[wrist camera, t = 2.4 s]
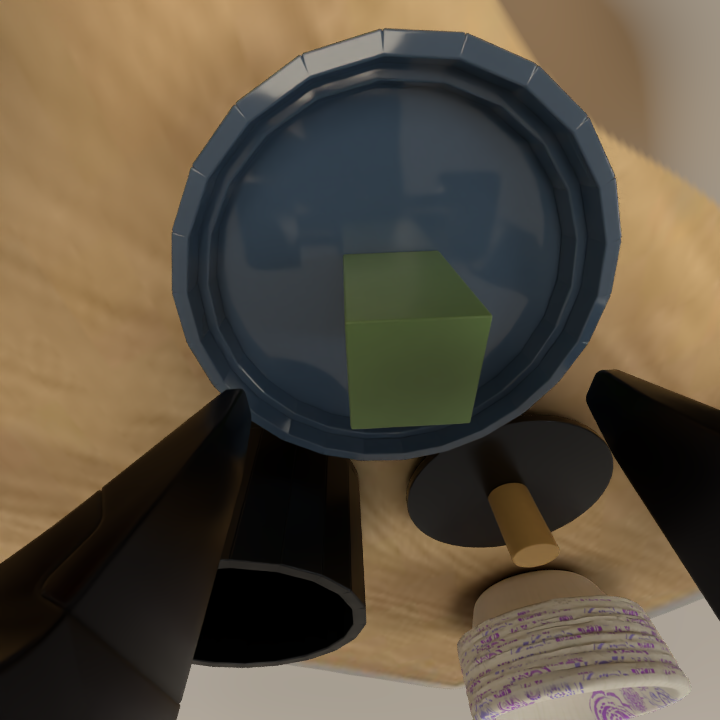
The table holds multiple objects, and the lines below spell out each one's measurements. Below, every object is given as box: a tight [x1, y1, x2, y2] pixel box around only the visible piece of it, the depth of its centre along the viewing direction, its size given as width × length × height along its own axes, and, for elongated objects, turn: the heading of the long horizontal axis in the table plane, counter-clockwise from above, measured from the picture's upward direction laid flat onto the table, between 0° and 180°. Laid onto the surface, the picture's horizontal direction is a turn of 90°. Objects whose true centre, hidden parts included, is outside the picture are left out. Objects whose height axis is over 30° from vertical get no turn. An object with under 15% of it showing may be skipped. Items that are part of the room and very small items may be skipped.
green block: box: [343, 251, 492, 429], centre depth 11 cm, size 4×4×6 cm
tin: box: [192, 421, 366, 668], centre depth 18 cm, size 11×11×7 cm
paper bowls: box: [457, 570, 691, 720], centre depth 28 cm, size 15×15×8 cm
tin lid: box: [406, 415, 613, 567], centre depth 20 cm, size 12×12×5 cm
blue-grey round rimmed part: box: [172, 28, 622, 461], centre depth 13 cm, size 15×15×2 cm
